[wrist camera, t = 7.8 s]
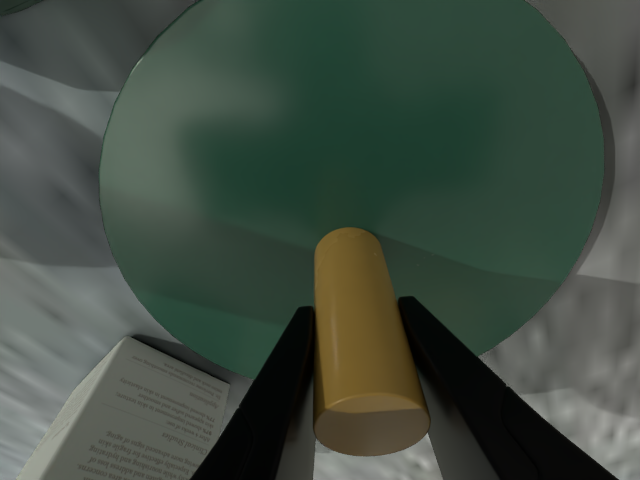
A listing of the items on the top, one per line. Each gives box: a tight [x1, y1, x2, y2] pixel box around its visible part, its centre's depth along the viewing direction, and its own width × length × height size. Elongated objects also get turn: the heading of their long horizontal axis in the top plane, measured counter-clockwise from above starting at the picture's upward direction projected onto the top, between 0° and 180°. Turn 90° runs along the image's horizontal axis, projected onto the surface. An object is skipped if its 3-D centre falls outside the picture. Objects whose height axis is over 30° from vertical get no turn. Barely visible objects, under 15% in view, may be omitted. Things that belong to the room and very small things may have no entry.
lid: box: [99, 0, 604, 456], centre depth 10 cm, size 17×17×7 cm
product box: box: [16, 336, 230, 480], centre depth 15 cm, size 6×6×7 cm
